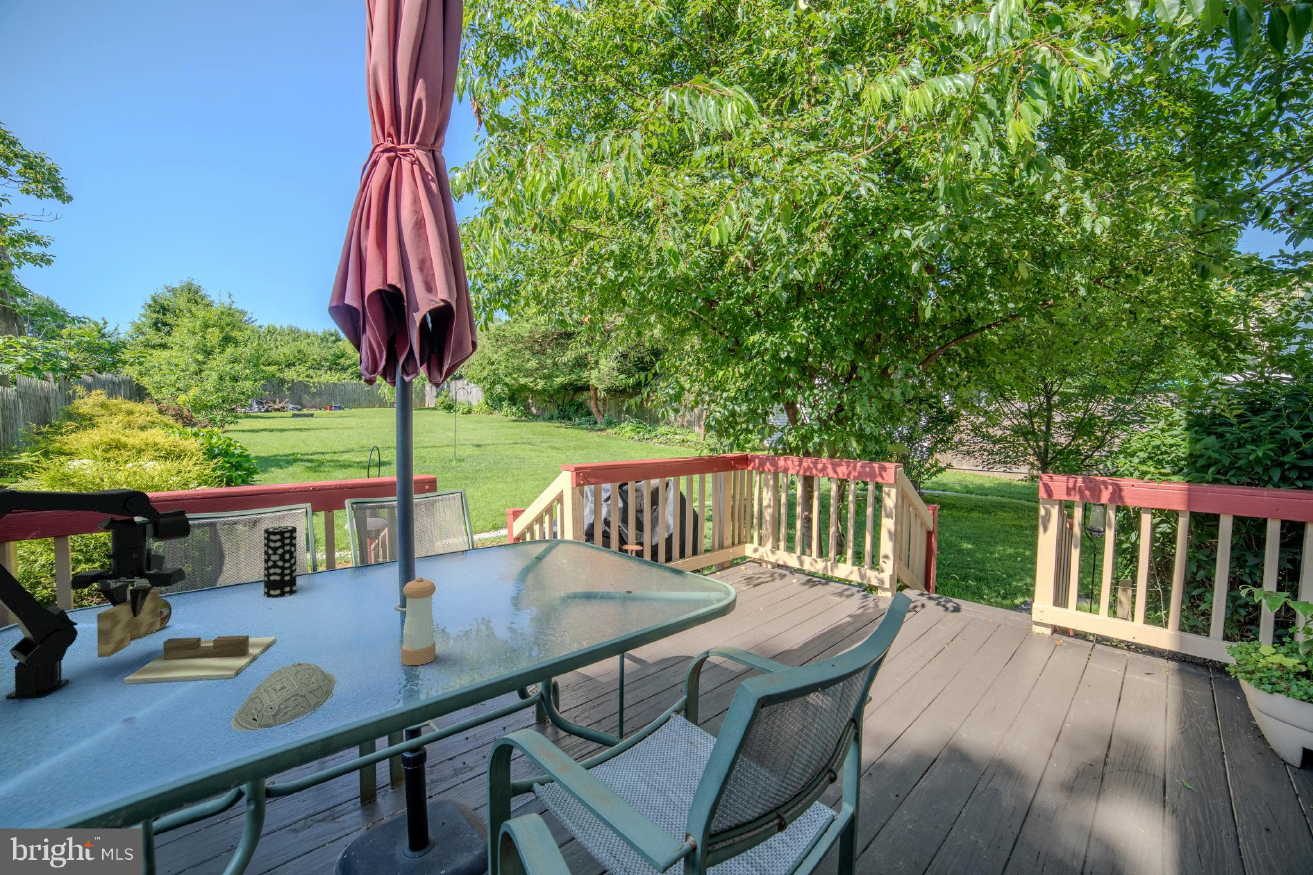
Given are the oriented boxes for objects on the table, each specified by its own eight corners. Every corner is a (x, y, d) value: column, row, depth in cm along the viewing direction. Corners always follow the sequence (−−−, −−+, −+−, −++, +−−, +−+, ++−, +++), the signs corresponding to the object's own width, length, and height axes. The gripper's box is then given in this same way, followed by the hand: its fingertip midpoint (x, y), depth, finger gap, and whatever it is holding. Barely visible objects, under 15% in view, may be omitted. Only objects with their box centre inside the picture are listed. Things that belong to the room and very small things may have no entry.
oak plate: (109, 656, 119) (108, 613, 119) (97, 657, 119) (97, 614, 119) (159, 627, 135) (159, 589, 135) (150, 628, 135) (149, 590, 134)
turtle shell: (210, 736, 100) (215, 697, 100) (271, 678, 125) (275, 647, 125) (308, 737, 104) (313, 699, 104) (349, 680, 128) (353, 650, 128)
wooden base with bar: (233, 678, 122) (233, 654, 122) (123, 683, 118) (123, 659, 118) (276, 640, 142) (276, 620, 141) (183, 644, 138) (183, 624, 138)
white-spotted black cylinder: (301, 592, 178) (301, 528, 178) (272, 599, 171) (272, 532, 170) (288, 587, 183) (288, 524, 182) (258, 594, 176) (258, 529, 175)
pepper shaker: (402, 654, 136) (403, 574, 135) (435, 651, 138) (436, 572, 138) (400, 667, 129) (401, 583, 128) (435, 663, 132) (436, 580, 131)
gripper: (199, 537, 136) (199, 603, 136) (107, 538, 132) (108, 606, 133) (168, 549, 125) (169, 620, 125) (67, 550, 121) (69, 623, 122)
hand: (130, 616), depth 127 cm, fingers closed on oak plate, 2 cm apart
